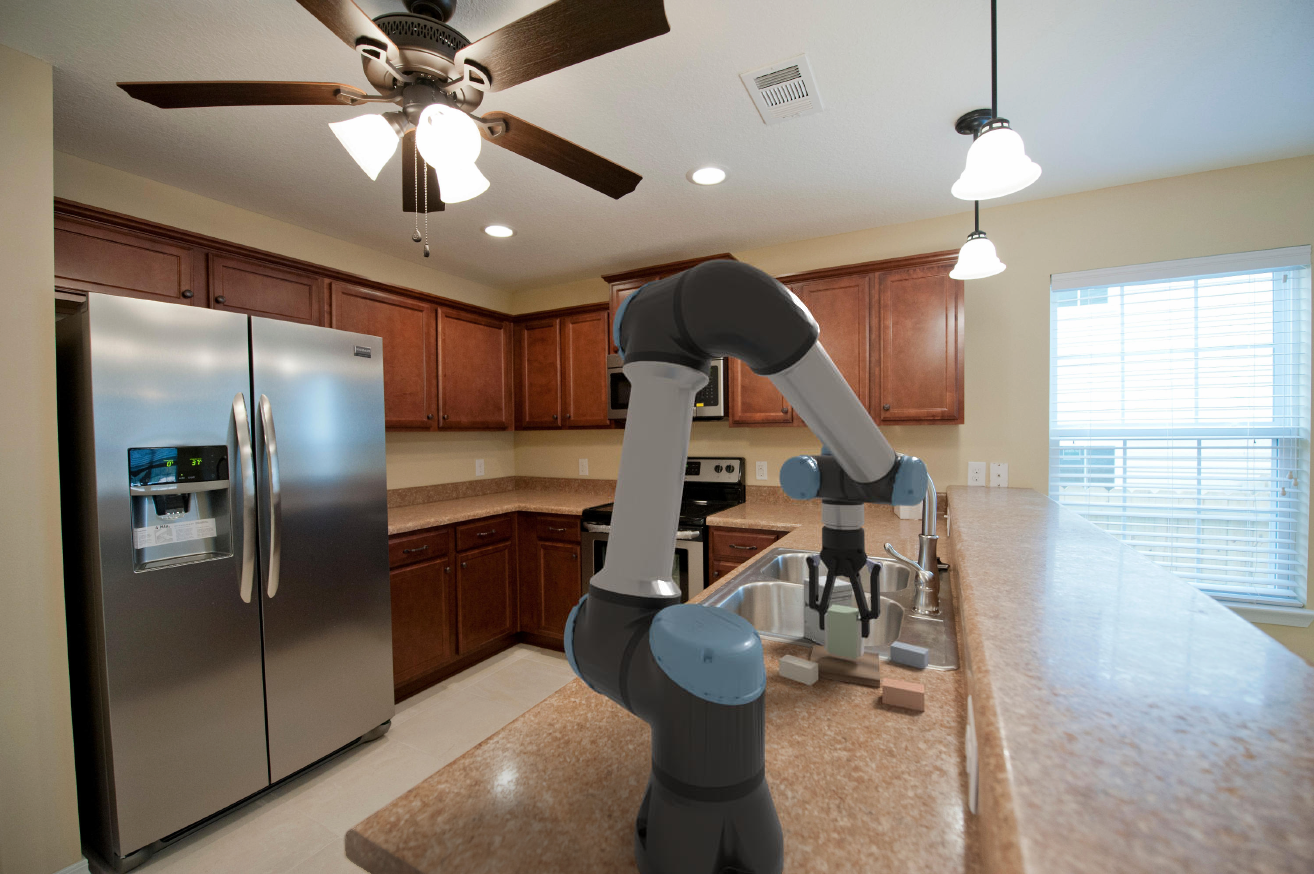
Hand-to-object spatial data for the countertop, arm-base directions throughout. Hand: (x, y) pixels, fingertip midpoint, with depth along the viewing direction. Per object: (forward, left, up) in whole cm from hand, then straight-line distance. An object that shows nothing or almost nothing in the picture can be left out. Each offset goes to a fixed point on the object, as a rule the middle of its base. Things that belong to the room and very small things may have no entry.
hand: (844, 650), depth 95 cm
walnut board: (0, 0, -3) cm, 3 cm away
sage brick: (0, 0, 0) cm, 0 cm away
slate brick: (+9, -10, -3) cm, 14 cm away
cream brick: (-9, +6, -3) cm, 11 cm away
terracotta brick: (-9, -11, -3) cm, 14 cm away
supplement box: (+12, +6, -3) cm, 14 cm away
